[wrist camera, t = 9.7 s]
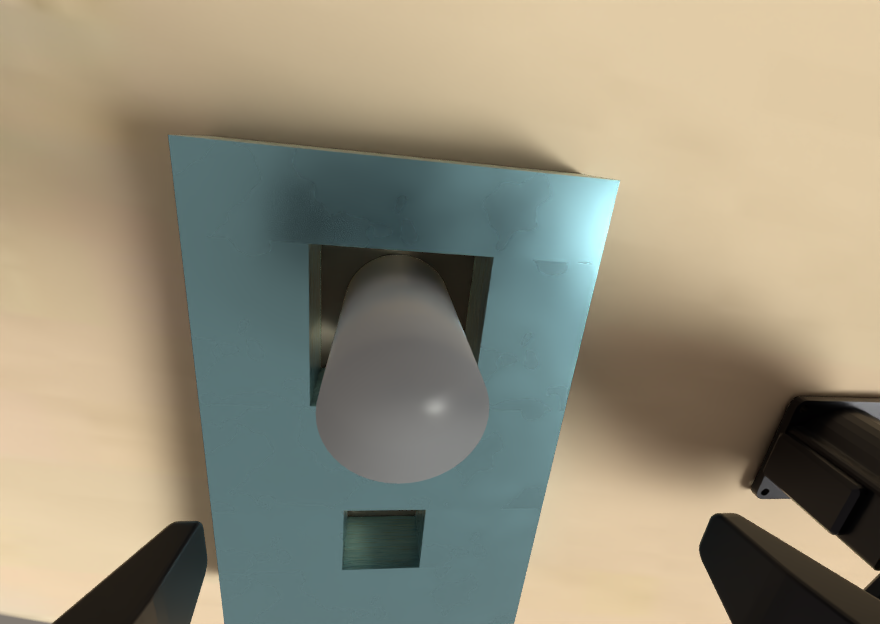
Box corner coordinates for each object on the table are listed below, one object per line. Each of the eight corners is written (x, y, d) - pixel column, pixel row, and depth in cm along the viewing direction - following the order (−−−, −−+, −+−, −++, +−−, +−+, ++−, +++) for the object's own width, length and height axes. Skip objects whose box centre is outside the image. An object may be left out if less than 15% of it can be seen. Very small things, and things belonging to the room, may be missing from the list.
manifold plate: (582, 174, 17) (619, 180, 14) (499, 570, 25) (513, 623, 22) (207, 135, 15) (168, 134, 13) (245, 578, 23) (226, 638, 20)
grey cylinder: (454, 258, 18) (501, 341, 11) (443, 353, 20) (477, 483, 12) (345, 250, 17) (315, 332, 10) (343, 349, 19) (315, 483, 12)
